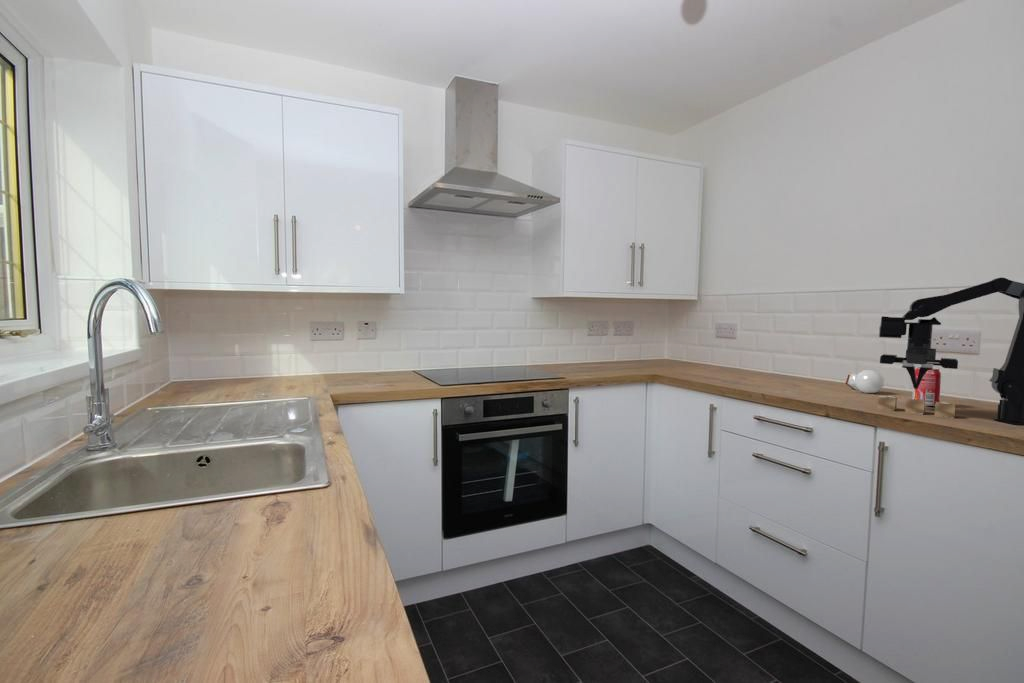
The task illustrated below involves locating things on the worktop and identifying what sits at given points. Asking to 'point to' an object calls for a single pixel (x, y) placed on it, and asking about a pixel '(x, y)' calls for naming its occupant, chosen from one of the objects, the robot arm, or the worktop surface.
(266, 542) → the worktop surface
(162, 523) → the worktop surface
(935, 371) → the soda can
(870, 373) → the potion bottle
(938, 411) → the pip block near
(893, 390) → the worktop surface
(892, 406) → the pip block far
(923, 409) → the plain block
